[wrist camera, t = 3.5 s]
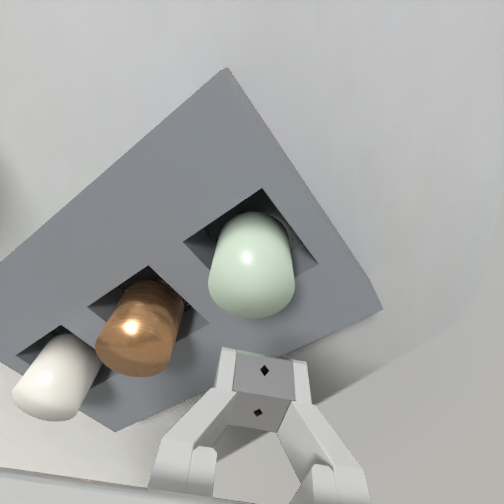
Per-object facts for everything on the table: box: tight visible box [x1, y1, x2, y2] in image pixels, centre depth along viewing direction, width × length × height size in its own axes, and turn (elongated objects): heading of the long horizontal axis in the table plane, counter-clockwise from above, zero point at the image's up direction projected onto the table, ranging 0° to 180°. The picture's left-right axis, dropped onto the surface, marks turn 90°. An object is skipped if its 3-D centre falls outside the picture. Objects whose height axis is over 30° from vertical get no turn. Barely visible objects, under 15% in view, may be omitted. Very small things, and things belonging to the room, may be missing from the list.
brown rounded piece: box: [95, 281, 184, 377], centre depth 19 cm, size 4×4×4 cm
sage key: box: [208, 211, 295, 319], centre depth 17 cm, size 4×4×4 cm
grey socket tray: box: [0, 67, 383, 432], centre depth 21 cm, size 24×15×3 cm, turn 126°
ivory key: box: [11, 334, 103, 421], centre depth 22 cm, size 4×4×4 cm
